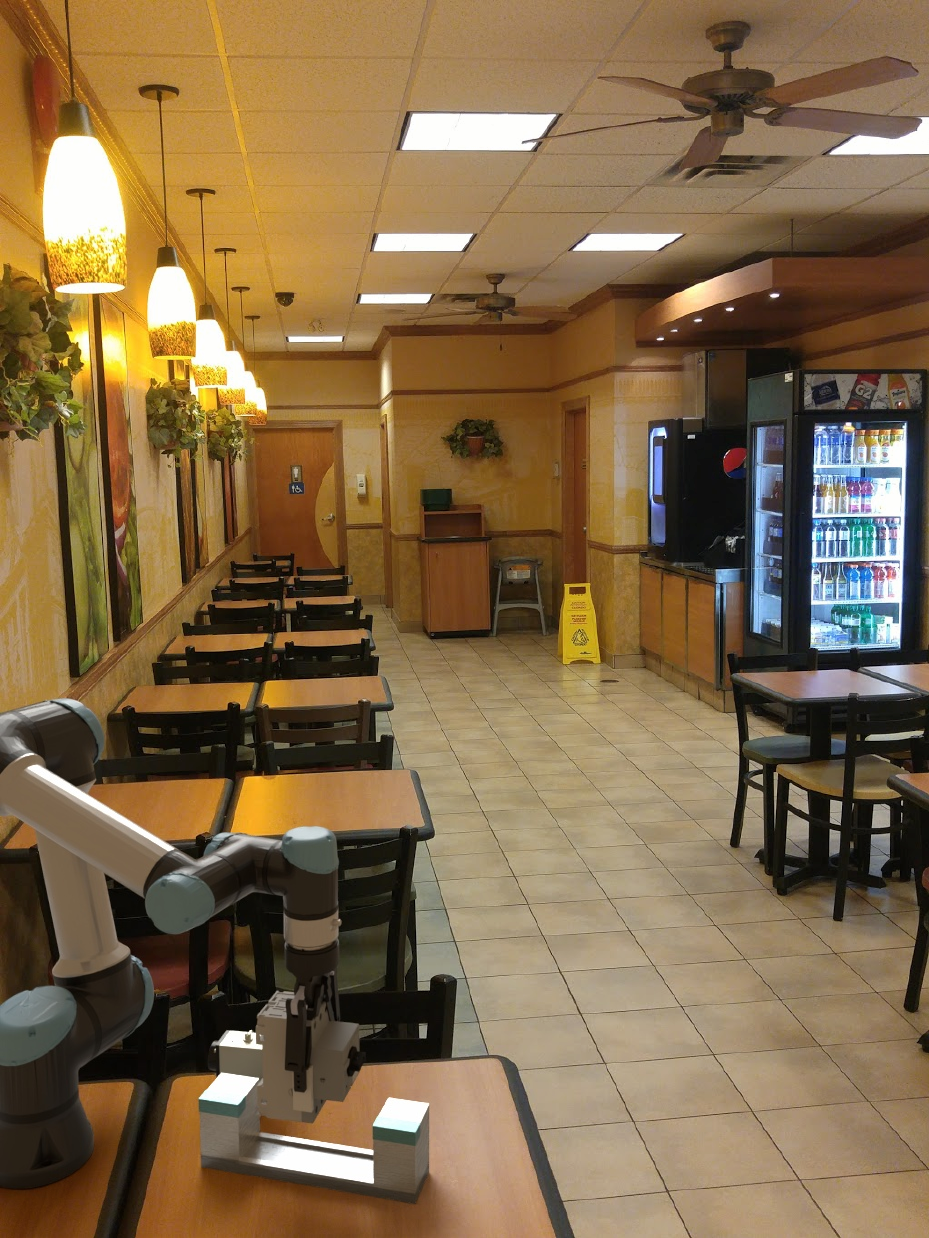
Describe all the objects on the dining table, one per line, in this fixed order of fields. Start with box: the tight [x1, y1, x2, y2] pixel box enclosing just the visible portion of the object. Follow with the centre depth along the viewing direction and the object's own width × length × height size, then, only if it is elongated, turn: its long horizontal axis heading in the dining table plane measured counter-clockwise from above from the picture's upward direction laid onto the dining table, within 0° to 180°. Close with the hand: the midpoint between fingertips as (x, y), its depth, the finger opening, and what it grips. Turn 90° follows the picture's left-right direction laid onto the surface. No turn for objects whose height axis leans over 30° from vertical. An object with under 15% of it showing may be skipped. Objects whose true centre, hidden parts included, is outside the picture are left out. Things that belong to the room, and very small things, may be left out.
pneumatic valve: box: [207, 1029, 263, 1082], centre depth 171 cm, size 6×12×12 cm, turn 81°
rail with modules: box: [198, 1073, 430, 1205], centre depth 154 cm, size 32×7×11 cm, turn 76°
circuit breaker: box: [255, 990, 367, 1125], centre depth 153 cm, size 8×14×15 cm, turn 78°
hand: (314, 1092), depth 154 cm, fingers closed on circuit breaker, 8 cm apart
